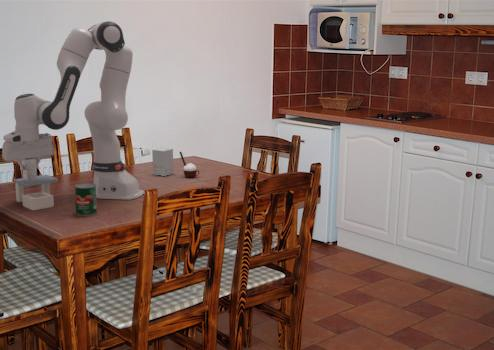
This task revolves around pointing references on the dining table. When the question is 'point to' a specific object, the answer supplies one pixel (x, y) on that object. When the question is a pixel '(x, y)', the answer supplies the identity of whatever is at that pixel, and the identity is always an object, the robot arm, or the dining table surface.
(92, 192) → the canned tomato
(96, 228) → the dining table surface
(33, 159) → the metal peg
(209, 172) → the dining table surface
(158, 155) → the grey fluted block
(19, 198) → the awning stand
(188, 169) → the cocoa
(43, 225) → the dining table surface
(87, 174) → the dining table surface
